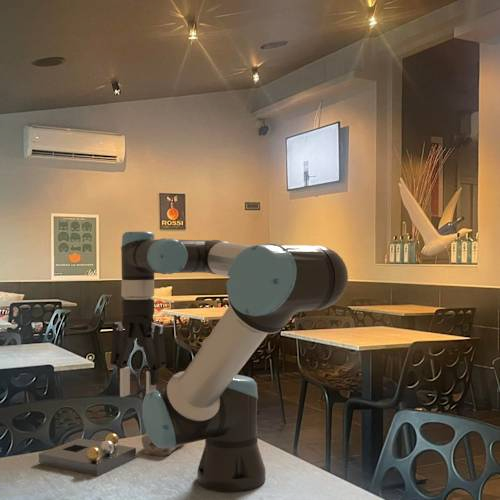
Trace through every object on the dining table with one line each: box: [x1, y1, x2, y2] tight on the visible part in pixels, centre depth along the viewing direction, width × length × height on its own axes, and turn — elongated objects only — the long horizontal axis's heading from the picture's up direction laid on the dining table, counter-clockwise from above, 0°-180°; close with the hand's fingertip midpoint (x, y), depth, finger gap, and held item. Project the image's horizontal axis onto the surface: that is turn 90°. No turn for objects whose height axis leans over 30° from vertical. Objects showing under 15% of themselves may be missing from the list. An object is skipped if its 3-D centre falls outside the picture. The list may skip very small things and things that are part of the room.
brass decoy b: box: [104, 432, 120, 446], centre depth 152 cm, size 3×3×3 cm
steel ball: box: [101, 440, 114, 455], centre depth 145 cm, size 3×3×3 cm
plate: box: [38, 437, 137, 477], centre depth 148 cm, size 18×14×2 cm
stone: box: [141, 432, 185, 457], centre depth 158 cm, size 13×6×10 cm
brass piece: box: [87, 447, 101, 462], centre depth 141 cm, size 3×3×3 cm
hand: (137, 397), depth 142 cm, fingers open, 7 cm apart
